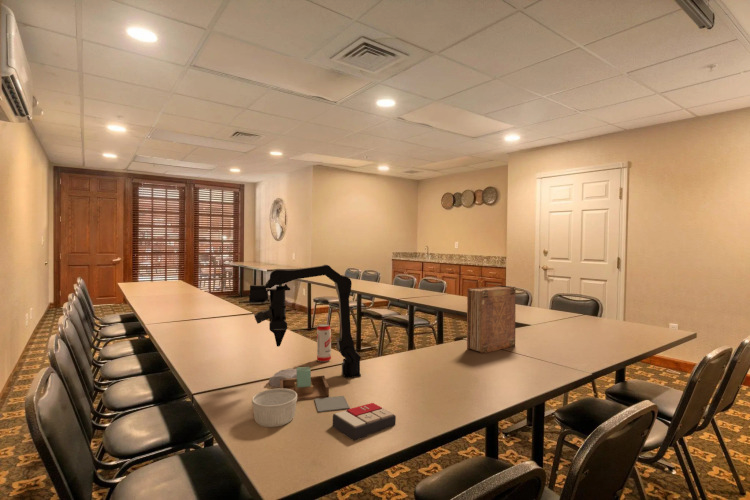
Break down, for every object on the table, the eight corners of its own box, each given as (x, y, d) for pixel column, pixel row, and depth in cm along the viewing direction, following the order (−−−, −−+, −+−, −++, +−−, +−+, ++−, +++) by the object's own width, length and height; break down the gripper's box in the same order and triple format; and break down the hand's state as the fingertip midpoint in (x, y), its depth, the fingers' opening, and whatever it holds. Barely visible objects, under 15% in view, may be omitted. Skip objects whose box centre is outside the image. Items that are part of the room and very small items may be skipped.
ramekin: (287, 431, 109) (286, 407, 109) (243, 427, 112) (243, 403, 112) (303, 411, 122) (303, 389, 122) (264, 408, 125) (264, 386, 125)
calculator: (396, 413, 113) (354, 425, 104) (396, 427, 113) (353, 441, 104) (373, 401, 122) (332, 411, 113) (372, 414, 122) (331, 426, 112)
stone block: (267, 391, 144) (292, 387, 142) (265, 378, 144) (289, 374, 142) (281, 381, 156) (304, 378, 154) (279, 369, 156) (302, 365, 154)
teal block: (309, 381, 140) (309, 366, 140) (310, 386, 135) (310, 370, 135) (296, 383, 139) (296, 367, 138) (297, 387, 134) (297, 371, 134)
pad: (343, 396, 134) (343, 395, 134) (349, 408, 124) (349, 407, 124) (314, 399, 131) (314, 398, 131) (318, 412, 121) (318, 411, 121)
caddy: (324, 384, 145) (324, 375, 145) (328, 397, 133) (328, 387, 133) (279, 389, 141) (279, 379, 141) (280, 402, 129) (280, 391, 129)
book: (481, 353, 185) (481, 290, 184) (466, 349, 192) (466, 288, 192) (515, 345, 199) (515, 287, 198) (500, 342, 206) (500, 285, 206)
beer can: (333, 359, 177) (333, 324, 177) (327, 363, 171) (327, 326, 171) (320, 357, 179) (320, 323, 179) (314, 361, 173) (314, 325, 173)
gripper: (256, 299, 155) (256, 338, 155) (254, 307, 137) (254, 351, 137) (285, 298, 158) (285, 337, 158) (287, 305, 140) (287, 349, 140)
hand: (278, 343), depth 148 cm, fingers open, 9 cm apart
